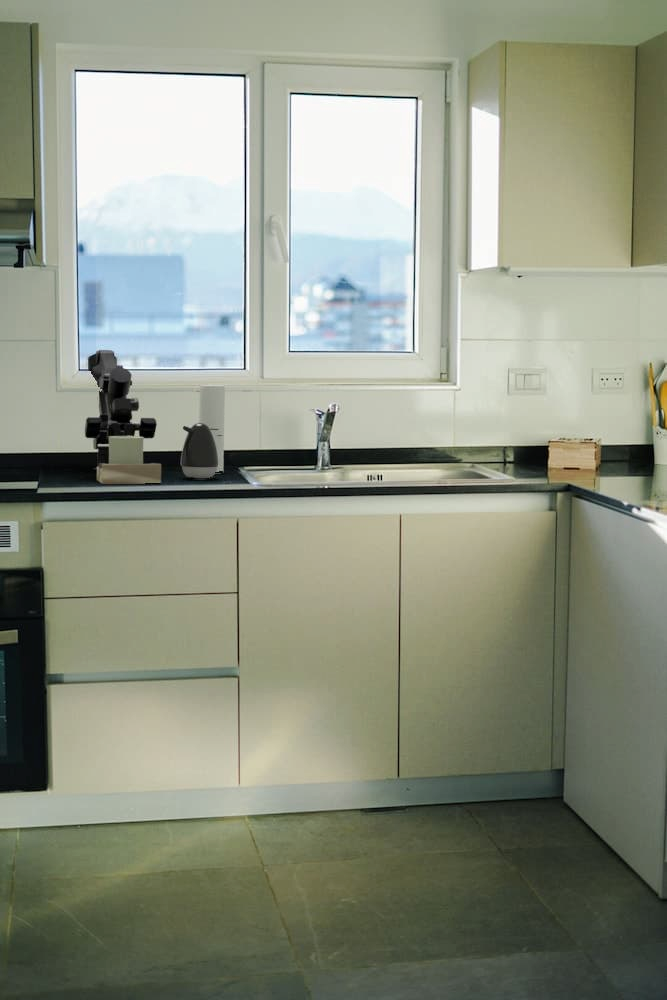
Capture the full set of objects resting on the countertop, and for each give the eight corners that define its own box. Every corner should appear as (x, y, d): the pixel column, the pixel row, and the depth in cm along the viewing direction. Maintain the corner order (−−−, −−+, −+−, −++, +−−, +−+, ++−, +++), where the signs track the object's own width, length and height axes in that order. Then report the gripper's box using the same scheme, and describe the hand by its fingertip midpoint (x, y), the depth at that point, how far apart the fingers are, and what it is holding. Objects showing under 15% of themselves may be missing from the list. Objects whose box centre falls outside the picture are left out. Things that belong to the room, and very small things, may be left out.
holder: (96, 480, 322) (96, 461, 321) (153, 479, 327) (153, 461, 326) (102, 484, 312) (102, 464, 311) (161, 483, 317) (161, 464, 316)
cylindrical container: (195, 471, 356) (196, 385, 353) (218, 471, 359) (219, 385, 356) (203, 473, 349) (204, 385, 346) (226, 473, 352) (228, 386, 349)
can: (118, 482, 316) (118, 436, 315) (101, 479, 323) (102, 434, 322) (149, 481, 322) (150, 435, 320) (132, 478, 329) (133, 433, 328)
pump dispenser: (172, 477, 334) (173, 422, 332) (204, 476, 341) (205, 421, 339) (192, 481, 326) (193, 424, 325) (225, 479, 333) (226, 423, 331)
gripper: (86, 387, 326) (91, 430, 317) (155, 388, 332) (163, 430, 323) (82, 415, 334) (87, 458, 325) (150, 416, 340) (157, 458, 331)
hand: (124, 450), depth 326 cm, fingers closed, pressing on can
